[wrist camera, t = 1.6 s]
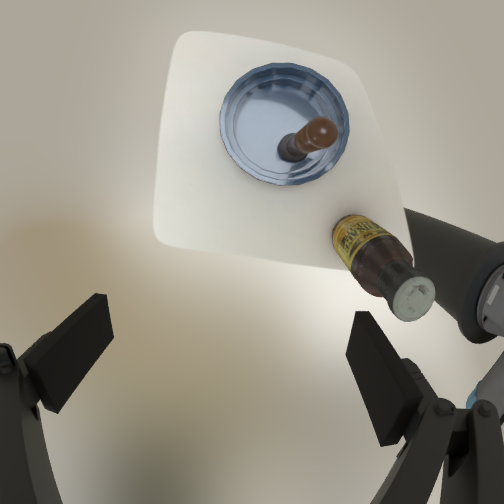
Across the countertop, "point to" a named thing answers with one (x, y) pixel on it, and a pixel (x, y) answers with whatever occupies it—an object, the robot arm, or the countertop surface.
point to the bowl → (280, 121)
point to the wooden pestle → (309, 139)
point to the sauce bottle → (383, 267)
